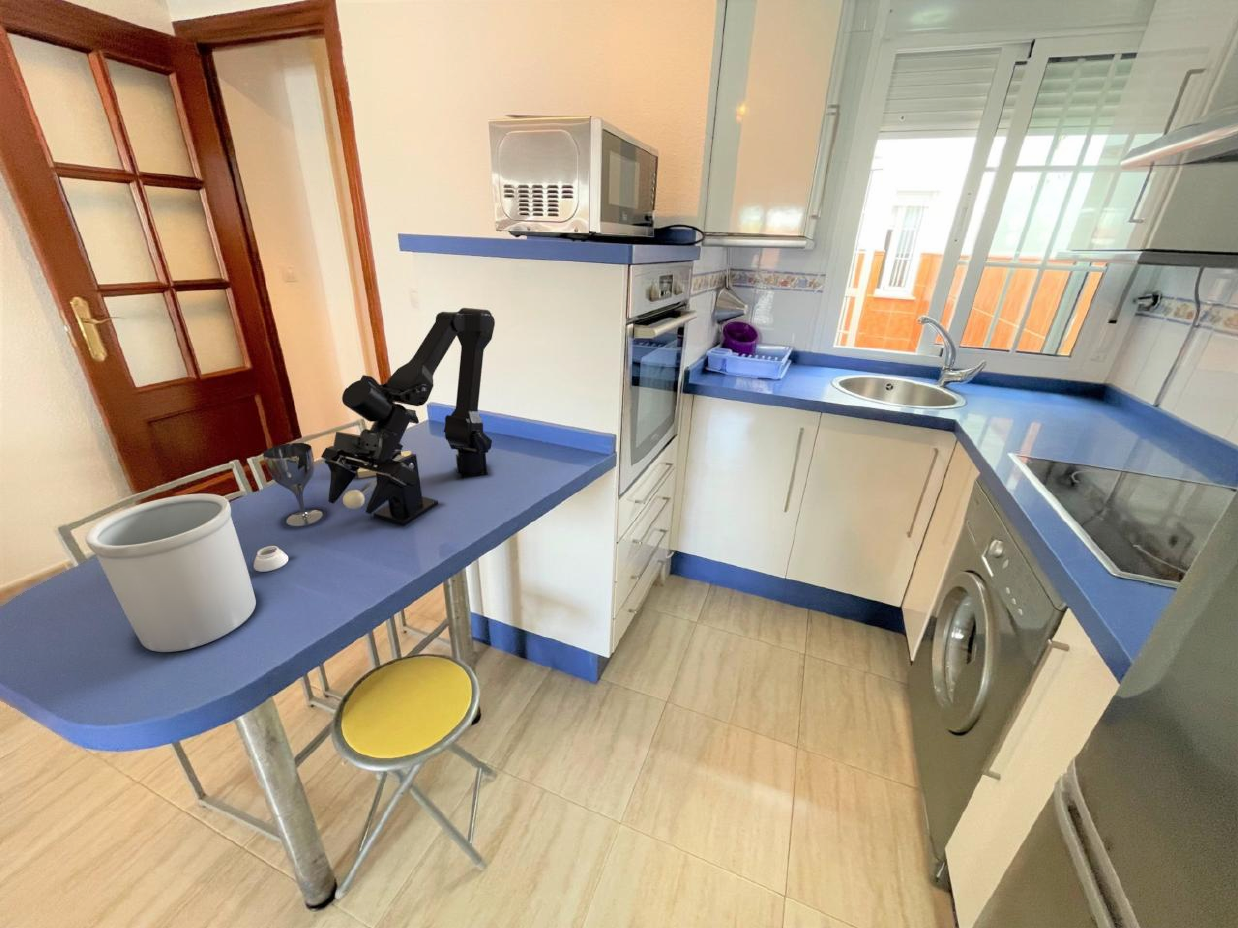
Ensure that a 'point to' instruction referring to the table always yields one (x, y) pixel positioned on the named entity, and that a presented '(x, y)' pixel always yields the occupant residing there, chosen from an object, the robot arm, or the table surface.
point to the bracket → (406, 499)
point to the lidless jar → (270, 559)
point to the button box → (369, 473)
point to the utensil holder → (176, 570)
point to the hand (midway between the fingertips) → (349, 507)
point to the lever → (361, 492)
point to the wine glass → (293, 475)
